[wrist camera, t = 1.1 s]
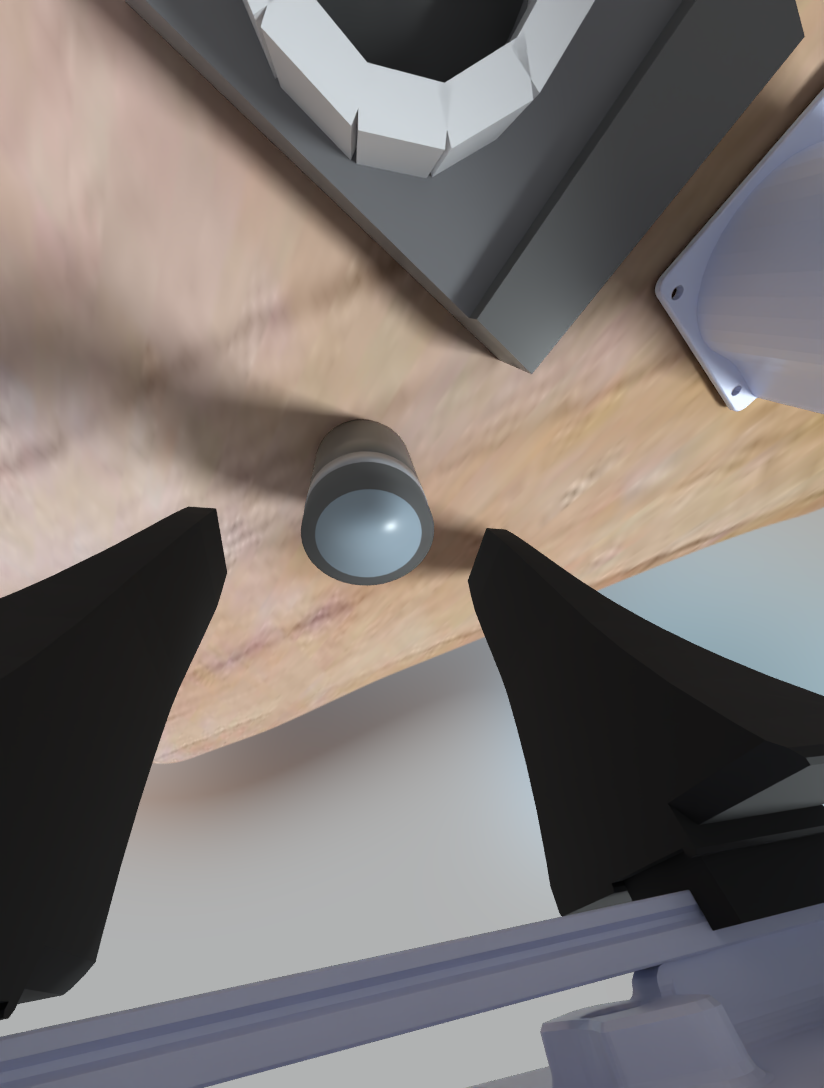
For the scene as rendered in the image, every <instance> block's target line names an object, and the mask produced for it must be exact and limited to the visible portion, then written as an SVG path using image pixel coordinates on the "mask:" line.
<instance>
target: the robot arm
mask: <svg viewBox="0 0 824 1088" xmlns="http://www.w3.org/2000/svg"><path fill="white" fill-rule="evenodd" d="M675 288H676V289H677V291H676V294H675V296H674V297H673V298H672V297H671V295H672V292H673V290H674V289H675ZM655 293H656V296H657V298H658V299H659V301H660V302H661V304H662V305H663V307H664V309H665V310H666V312H667V313H668V315H669V316H670V318H671V319H672V321H673V323H674V324H675V326H676V327H677V329H678V330H679V332H680V333H681V335H682V337H683V338H684V340H685V341H686V343H687V344H688V346H689V347H690V349H691V351H692V352H693V354H694V355H695V357H696V358H697V360H698V361H699V363H700V365H701V366H702V368H703V369H704V371H705V372H706V374H707V375H708V377H709V379H710V380H711V382H712V383H713V385H714V386H715V388H716V389H717V391H718V393H719V394H720V396H721V397H722V399H723V400H724V402H725V403H726V405H727V407H728V408H729V409H730V410H733V411H740V410H742V409H744V408H745V407H747V406H748V405H749V404H750V403H751V402H752V401H753V400H755V399H756V398H761V399H765V400H769V401H773V402H777V403H781V404H785V405H789V406H793V407H797V408H801V409H805V410H809V411H813V412H817V413H821V414H824V88H823V89H822V91H821V92H820V93H819V94H818V95H817V96H816V97H815V99H814V100H813V101H812V102H811V103H810V104H809V106H808V107H807V108H806V109H805V110H804V111H803V112H802V114H801V115H800V116H799V117H798V118H797V119H796V121H795V122H794V123H793V124H792V125H791V126H790V127H789V129H788V130H787V131H786V132H785V133H784V134H783V136H782V137H781V138H780V139H779V140H778V141H777V142H776V144H775V145H774V146H773V147H772V148H771V149H770V151H769V152H768V153H767V154H766V155H765V156H764V157H763V159H762V160H761V161H760V162H759V163H758V164H757V166H756V167H755V168H754V169H753V170H752V171H751V172H750V174H749V175H748V176H747V177H746V178H745V179H744V181H743V182H742V183H741V184H740V185H739V186H738V187H737V189H736V190H735V191H734V192H733V193H732V194H731V196H730V197H729V198H728V199H727V200H726V201H725V202H724V204H723V205H722V206H721V207H720V208H719V209H718V211H717V212H716V213H715V214H714V215H713V216H712V217H711V219H710V220H709V221H708V222H707V223H706V224H705V226H704V227H703V228H702V229H701V230H700V231H699V233H698V234H697V235H696V236H695V237H694V238H693V239H692V241H691V242H690V243H689V244H688V245H687V246H686V248H685V249H684V250H683V251H682V252H681V253H680V254H679V256H678V257H677V258H676V259H675V260H674V261H673V263H672V264H671V265H670V266H669V267H668V268H667V269H666V271H665V272H664V273H663V274H662V275H661V277H660V278H659V279H658V281H657V284H656V286H655ZM733 389H734V390H733ZM732 390H733V391H732ZM226 575H227V569H226V563H225V557H224V552H223V546H222V540H221V534H220V528H219V523H218V517H217V511H216V509H214V508H200V507H187V508H184V509H182V510H180V511H178V512H176V513H174V514H172V515H170V516H168V517H166V518H164V519H162V520H161V521H159V522H157V523H155V524H153V525H151V526H149V527H148V528H146V529H144V530H142V531H140V532H138V533H136V534H135V535H133V536H131V537H129V538H127V539H125V540H123V541H121V542H120V543H118V544H116V545H114V546H112V547H110V548H108V549H106V550H104V551H102V552H100V553H98V554H96V555H94V556H92V557H90V558H88V559H86V560H84V561H82V562H80V563H78V564H76V565H74V566H72V567H70V568H67V569H65V570H63V571H61V572H59V573H57V574H55V575H53V576H51V577H49V578H47V579H44V580H42V581H40V582H38V583H35V584H33V585H31V586H29V587H26V588H24V589H22V590H19V591H17V592H15V593H12V594H10V595H7V596H5V597H2V598H0V1020H3V1019H7V1018H9V1017H10V1015H11V1014H12V1013H13V1011H14V1010H15V1008H16V1006H17V1004H20V1003H25V1002H30V1001H36V1000H41V999H45V998H50V997H55V996H61V995H64V994H65V993H66V992H67V991H68V990H70V989H71V988H72V987H73V986H74V985H75V984H76V983H77V982H78V981H79V980H80V979H81V978H82V977H83V976H84V975H85V974H86V973H87V972H88V970H89V969H90V968H91V967H92V966H93V964H94V963H95V962H96V958H97V954H98V950H99V946H100V942H101V938H102V934H103V930H104V927H105V923H106V919H107V915H108V912H109V908H110V904H111V901H112V896H113V893H114V889H115V886H116V882H117V878H118V874H119V871H120V867H121V864H122V860H123V857H124V853H125V850H126V847H127V843H128V840H129V837H130V833H131V830H132V826H133V823H134V820H135V816H136V812H137V809H138V806H139V802H140V799H141V797H142V793H143V790H144V787H145V784H146V781H147V777H148V774H149V772H150V768H151V765H152V762H153V759H154V756H155V753H156V750H157V747H158V744H159V741H160V738H161V735H162V733H163V730H164V727H165V724H166V721H167V718H168V715H169V712H170V709H171V707H172V704H173V702H174V699H175V697H176V695H177V692H178V690H179V687H180V685H181V683H182V681H183V679H184V677H185V675H186V672H187V670H188V668H189V666H190V664H191V662H192V660H193V658H194V655H195V653H196V651H197V649H198V647H199V645H200V643H201V640H202V638H203V636H204V634H205V632H206V630H207V628H208V625H209V623H210V621H211V619H212V617H213V614H214V612H215V610H216V608H217V605H218V602H219V599H220V595H221V592H222V589H223V585H224V582H225V578H226ZM468 584H469V588H470V593H471V597H472V601H473V605H474V609H475V612H476V615H477V617H478V620H479V622H480V625H481V628H482V630H483V633H484V635H485V638H486V640H487V643H488V645H489V647H490V650H491V652H492V655H493V657H494V660H495V662H496V665H497V667H498V670H499V672H500V675H501V677H502V680H503V683H504V686H505V689H506V692H507V695H508V698H509V702H510V705H511V709H512V712H513V716H514V719H515V723H516V726H517V730H518V734H519V738H520V741H521V745H522V749H523V753H524V757H525V761H526V765H527V769H528V773H529V778H530V782H531V787H532V792H533V796H534V801H535V805H536V810H537V815H538V820H539V825H540V830H541V835H542V841H543V846H544V851H545V857H546V862H547V868H548V874H549V880H550V886H551V889H552V892H553V895H554V898H555V901H556V904H557V907H558V910H559V913H560V914H561V916H562V917H558V918H554V919H549V920H544V921H540V922H535V923H530V924H526V925H521V926H516V927H512V928H507V929H502V930H498V931H493V932H488V933H484V934H479V935H474V936H470V937H465V938H460V939H456V940H451V941H446V942H442V943H437V944H433V945H428V946H423V947H419V948H414V949H409V950H404V951H400V952H395V953H390V954H386V955H381V956H376V957H372V958H367V959H362V960H358V961H353V962H348V963H343V964H339V965H334V966H329V967H325V968H321V969H316V970H311V971H307V972H302V973H297V974H292V975H288V976H283V977H278V978H273V979H269V980H264V981H259V982H255V983H250V984H245V985H241V986H236V987H231V988H227V989H222V990H218V991H213V992H208V993H203V994H199V995H194V996H189V997H185V998H180V999H176V1000H171V1001H166V1002H161V1003H157V1004H152V1005H148V1006H143V1007H138V1008H133V1009H129V1010H124V1011H119V1012H115V1013H110V1014H106V1015H101V1016H96V1017H92V1018H87V1019H83V1020H78V1021H72V1022H68V1023H64V1024H59V1025H54V1026H49V1027H44V1028H40V1029H35V1030H31V1031H26V1032H21V1033H16V1034H12V1035H7V1036H3V1037H0V1088H204V1087H208V1086H212V1085H215V1084H219V1083H223V1082H227V1081H230V1080H233V1079H238V1078H241V1077H245V1076H248V1075H252V1074H256V1073H259V1072H264V1071H267V1070H271V1069H275V1068H278V1067H282V1066H286V1065H289V1064H293V1063H297V1062H301V1061H304V1060H307V1059H312V1058H315V1057H319V1056H323V1055H327V1054H330V1053H334V1052H337V1051H341V1050H345V1049H349V1048H352V1047H356V1046H360V1045H363V1044H367V1043H371V1042H375V1041H379V1040H382V1039H386V1038H390V1037H393V1036H397V1035H401V1034H405V1033H408V1032H412V1031H416V1030H419V1029H423V1028H427V1027H431V1026H434V1025H438V1024H441V1023H445V1022H449V1021H453V1020H456V1019H460V1018H464V1017H467V1016H471V1015H475V1014H479V1013H482V1012H486V1011H490V1010H494V1009H497V1008H501V1007H504V1006H508V1005H512V1004H516V1003H519V1002H523V1001H527V1000H531V999H534V998H538V997H541V996H545V995H549V994H553V993H556V992H560V991H564V990H568V989H571V988H575V987H579V986H583V985H586V984H590V983H594V982H597V981H601V980H605V979H609V978H612V977H616V976H620V975H623V974H627V973H631V972H634V971H635V972H634V975H633V979H632V986H633V996H632V997H631V999H630V1000H626V1001H619V1002H613V1003H606V1004H600V1005H595V1006H591V1007H587V1008H583V1009H579V1010H576V1011H572V1012H570V1013H567V1014H565V1015H562V1016H560V1017H557V1018H555V1019H552V1020H550V1021H547V1022H545V1023H543V1024H542V1028H541V1036H542V1040H543V1044H544V1048H545V1052H546V1055H547V1059H548V1063H549V1066H548V1067H545V1068H541V1069H537V1070H533V1071H529V1072H525V1073H521V1074H517V1075H513V1076H510V1077H506V1078H502V1079H498V1080H494V1081H490V1082H487V1083H482V1084H479V1085H475V1086H471V1087H467V1088H824V806H823V805H822V804H824V696H822V695H819V694H816V693H814V692H811V691H808V690H806V689H803V688H800V687H797V686H795V685H792V684H789V683H787V682H784V681H781V680H778V679H775V678H773V677H770V676H768V675H765V674H763V673H760V672H758V671H756V670H753V669H751V668H748V667H746V666H744V665H741V664H739V663H736V662H734V661H732V660H729V659H727V658H724V657H722V656H720V655H717V654H715V653H713V652H711V651H709V650H706V649H704V648H702V647H700V646H697V645H695V644H693V643H691V642H689V641H687V640H685V639H683V638H681V637H679V636H677V635H675V634H673V633H671V632H669V631H666V630H664V629H662V628H660V627H659V626H656V625H655V624H653V623H651V622H649V621H647V620H645V619H643V618H642V617H640V616H638V615H636V614H634V613H633V612H631V611H629V610H627V609H626V608H624V607H622V606H620V605H618V604H617V603H615V602H613V601H611V600H610V599H608V598H607V597H605V596H603V595H602V594H600V593H599V592H597V591H596V590H594V589H593V588H591V587H590V586H588V585H586V584H585V583H583V582H582V581H580V580H579V579H577V578H576V577H574V576H573V575H571V574H570V573H569V572H567V571H566V570H564V569H563V568H561V567H560V566H559V565H557V564H556V563H554V562H553V561H551V560H550V559H549V558H547V557H546V556H544V555H543V554H542V553H540V552H539V551H538V550H536V549H535V548H533V547H532V546H530V545H529V544H528V543H526V542H525V541H523V540H522V539H520V538H519V537H517V536H516V535H514V534H513V533H511V532H509V531H507V530H504V529H490V528H486V531H485V534H484V537H483V540H482V543H481V545H480V548H479V551H478V554H477V557H476V559H475V562H474V565H473V568H472V571H471V573H470V576H469V579H468Z"/></svg>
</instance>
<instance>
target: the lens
mask: <svg viewBox="0 0 824 1088" xmlns="http://www.w3.org/2000/svg"><path fill="white" fill-rule="evenodd" d="M433 537H434V522H433V517H432V514H431V512H430V509H429V506H428V503H427V499H426V497H425V494H424V491H423V489H422V486H421V484H420V482H419V479H418V477H417V474H416V471H415V469H414V466H413V463H412V461H411V458H410V455H409V453H408V450H407V448H406V446H405V444H404V442H403V441H402V439H401V438H400V437H399V436H398V435H397V434H396V433H395V432H394V431H393V430H392V429H390V428H389V427H387V426H385V425H383V424H381V423H378V422H375V421H370V420H353V421H349V422H345V423H343V424H341V425H339V426H337V427H335V428H334V429H333V430H331V431H330V432H329V433H328V434H327V435H326V436H325V437H324V439H323V440H322V442H321V444H320V446H319V448H318V451H317V454H316V459H315V464H314V468H313V473H312V478H311V482H310V487H309V490H308V494H307V499H306V503H305V509H304V515H303V520H302V526H301V538H302V544H303V546H304V549H305V552H306V553H307V555H308V557H309V558H310V560H311V561H312V563H313V564H314V565H315V566H316V567H317V568H318V569H320V570H321V571H322V572H323V573H325V574H327V575H328V576H330V577H332V578H334V579H336V580H339V581H342V582H345V583H349V584H354V585H377V584H383V583H387V582H391V581H393V580H396V579H398V578H400V577H402V576H404V575H406V574H408V573H409V572H411V571H412V570H413V569H414V568H416V567H417V566H418V565H419V564H420V563H421V562H422V560H423V559H424V558H425V556H426V555H427V553H428V551H429V549H430V547H431V545H432V541H433Z"/></svg>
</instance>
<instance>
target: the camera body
mask: <svg viewBox="0 0 824 1088" xmlns="http://www.w3.org/2000/svg"><path fill="white" fill-rule="evenodd" d="M125 2H126V3H127V4H129V5H130V6H131V7H132V8H133V9H134V10H135V11H136V12H137V13H138V14H139V15H140V16H141V17H142V18H143V19H144V20H145V21H146V22H147V23H148V24H149V25H150V26H151V27H153V28H154V29H155V30H156V31H157V32H158V33H159V34H160V35H161V36H162V37H163V38H164V39H165V40H166V41H167V42H168V43H169V44H170V45H171V46H172V47H173V48H174V49H175V50H177V51H178V52H179V53H180V54H181V55H182V56H183V57H184V58H185V59H186V60H187V61H188V62H189V63H190V64H191V65H192V66H193V67H194V68H195V69H196V70H197V71H198V72H199V73H201V74H202V75H203V76H204V77H205V78H206V79H207V80H208V81H209V82H210V83H211V84H212V85H213V86H214V87H215V88H216V89H217V90H218V91H219V92H220V93H221V94H222V95H223V96H224V97H226V98H227V99H228V100H229V101H230V102H231V103H232V104H233V105H234V106H235V107H236V108H237V109H238V110H239V111H240V112H241V113H242V114H243V115H244V116H245V117H246V118H247V119H248V120H250V121H251V122H252V123H253V124H254V125H255V126H256V127H257V128H258V129H259V130H260V131H261V132H262V133H263V134H264V135H265V136H266V137H267V138H268V139H269V140H270V141H271V142H272V143H274V144H275V145H276V146H277V147H278V148H279V149H280V150H281V151H282V152H283V153H284V154H285V155H286V156H287V157H288V158H289V159H290V160H291V161H292V162H293V163H294V164H295V165H296V166H298V167H299V168H300V169H301V170H302V171H303V172H304V173H305V174H306V175H307V176H308V177H309V178H310V179H311V180H312V181H313V182H314V183H315V184H316V185H317V186H318V187H319V188H320V189H322V190H323V191H324V192H325V193H326V194H327V195H328V196H329V197H330V198H331V199H332V200H333V201H334V202H335V203H336V204H337V205H338V206H339V207H340V208H341V209H342V210H343V211H344V212H346V213H347V214H348V215H349V216H350V217H351V218H352V219H353V220H354V221H355V222H356V223H357V224H358V225H359V226H360V227H361V228H362V229H363V230H364V231H365V232H366V233H367V234H368V235H370V236H371V237H372V238H373V239H374V240H375V241H376V242H377V243H378V244H379V245H380V246H381V247H382V248H383V249H384V250H385V251H386V252H387V253H388V254H389V255H390V256H391V257H392V258H394V259H395V260H396V261H397V262H398V263H399V264H400V265H401V266H402V267H403V268H404V269H405V270H406V271H407V272H408V273H409V274H410V275H411V276H412V277H413V278H414V279H415V280H416V281H418V282H419V283H420V284H421V285H422V286H423V287H424V288H425V289H426V290H427V291H428V292H429V293H430V294H431V295H432V296H433V297H434V298H435V299H436V300H437V301H438V302H439V303H440V304H442V305H443V306H444V307H445V308H446V309H447V310H448V311H449V312H450V313H451V314H452V315H453V316H454V317H455V318H456V319H457V320H458V321H459V322H460V323H461V324H462V325H463V326H464V327H466V328H467V329H468V330H469V331H470V332H471V333H472V334H473V335H474V336H475V337H476V338H477V339H478V340H479V341H480V342H481V343H482V344H483V345H484V346H485V347H486V348H487V349H488V350H490V351H491V352H492V353H493V354H494V355H495V356H496V357H497V358H498V359H499V360H500V361H502V362H505V363H507V364H509V365H512V366H514V367H516V368H519V369H521V370H524V371H526V372H528V373H531V374H532V373H533V372H534V371H535V370H536V368H537V367H538V366H539V365H540V363H541V362H542V361H543V360H544V358H545V357H546V356H547V355H548V353H549V352H550V351H551V350H552V349H553V347H554V346H555V345H556V344H557V342H558V341H559V340H560V339H561V337H562V336H563V335H564V334H565V332H566V331H567V330H568V329H569V327H570V326H571V325H572V324H573V323H574V321H575V320H576V319H577V318H578V316H579V315H580V314H581V313H582V311H583V310H584V309H585V308H586V306H587V305H588V304H589V303H590V302H591V300H592V299H593V298H594V297H595V295H596V294H597V293H598V292H599V290H600V289H601V288H602V287H603V285H604V284H605V283H606V282H607V280H608V279H609V278H610V277H611V276H612V274H613V273H614V272H615V271H616V269H617V268H618V267H619V266H620V264H621V263H622V262H623V261H624V259H625V258H626V257H627V256H628V255H629V253H630V252H631V251H632V250H633V248H634V247H635V246H636V245H637V243H638V242H639V241H640V240H641V238H642V237H643V236H644V235H645V233H646V232H647V231H648V230H649V229H650V227H651V226H652V225H653V224H654V222H655V221H656V220H657V219H658V217H659V216H660V215H661V214H662V212H663V211H664V210H665V209H666V208H667V206H668V205H669V204H670V203H671V201H672V200H673V199H674V198H675V196H676V195H677V194H678V193H679V191H680V190H681V189H682V188H683V186H684V185H685V184H686V183H687V182H688V180H689V179H690V178H691V177H692V175H693V174H694V173H695V172H696V170H697V169H698V168H699V167H700V165H701V164H702V163H703V162H704V160H705V159H706V158H707V157H708V156H709V154H710V153H711V152H712V151H713V149H714V148H715V147H716V146H717V144H718V143H719V142H720V141H721V139H722V138H723V137H724V136H725V135H726V133H727V132H728V131H729V130H730V128H731V127H732V126H733V125H734V123H735V122H736V121H737V120H738V118H739V117H740V116H741V115H742V113H743V112H744V111H745V110H746V109H747V107H748V106H749V105H750V104H751V102H752V101H753V100H754V99H755V97H756V96H757V95H758V94H759V92H760V91H761V90H762V89H763V88H764V86H765V85H766V84H767V83H768V81H769V80H770V79H771V78H772V76H773V75H774V74H775V73H776V71H777V70H778V69H779V68H780V66H781V65H782V64H783V63H784V62H785V60H786V59H787V58H788V57H789V55H790V54H791V53H792V52H793V50H794V49H795V48H796V47H797V45H798V44H799V43H800V42H801V40H802V39H803V38H804V37H805V36H804V32H803V28H802V24H801V21H800V17H799V13H798V9H797V5H796V1H795V0H125Z"/></svg>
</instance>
